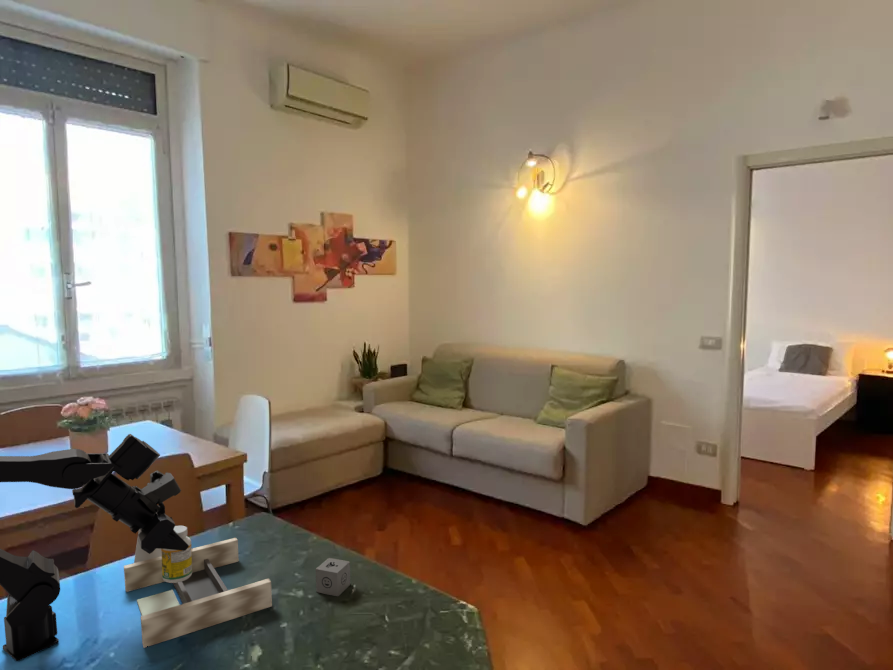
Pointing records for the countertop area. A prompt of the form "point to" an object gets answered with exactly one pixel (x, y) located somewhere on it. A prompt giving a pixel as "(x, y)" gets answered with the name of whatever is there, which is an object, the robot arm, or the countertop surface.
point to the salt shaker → (145, 553)
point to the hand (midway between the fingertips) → (183, 542)
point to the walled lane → (194, 594)
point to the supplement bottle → (177, 560)
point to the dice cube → (333, 577)
